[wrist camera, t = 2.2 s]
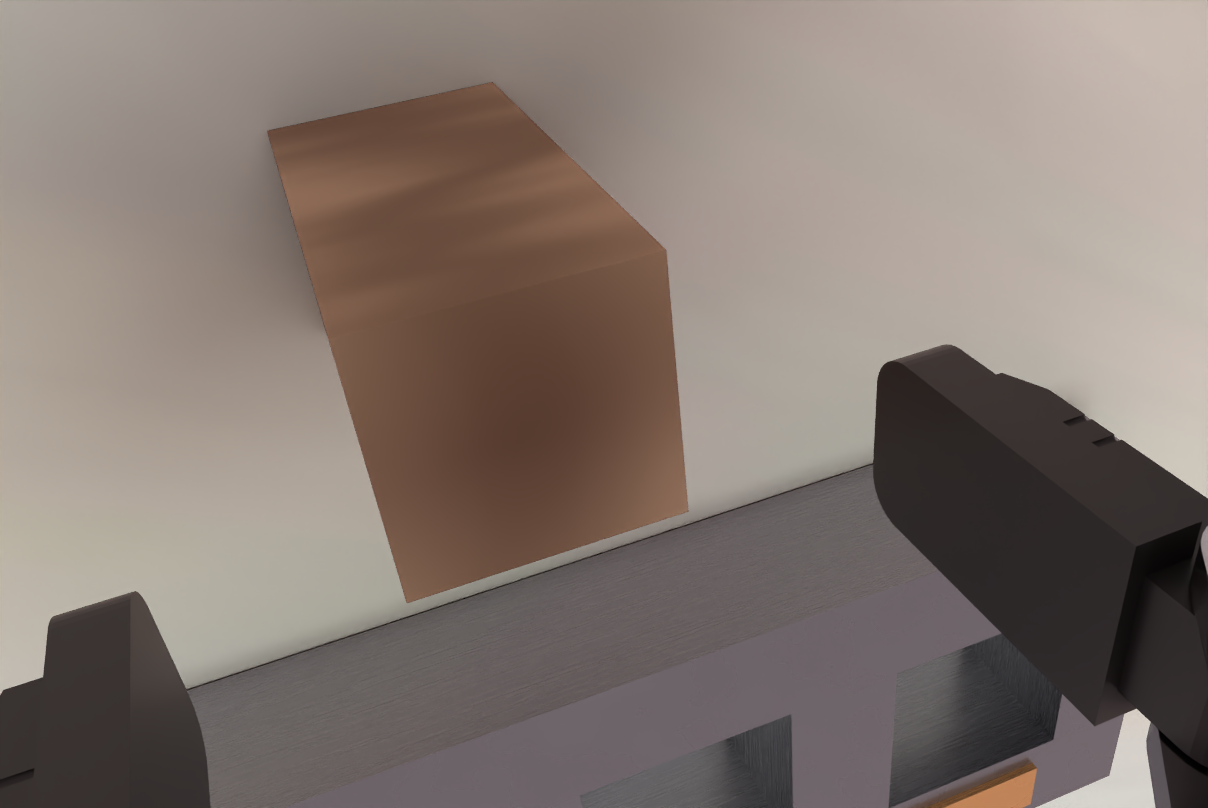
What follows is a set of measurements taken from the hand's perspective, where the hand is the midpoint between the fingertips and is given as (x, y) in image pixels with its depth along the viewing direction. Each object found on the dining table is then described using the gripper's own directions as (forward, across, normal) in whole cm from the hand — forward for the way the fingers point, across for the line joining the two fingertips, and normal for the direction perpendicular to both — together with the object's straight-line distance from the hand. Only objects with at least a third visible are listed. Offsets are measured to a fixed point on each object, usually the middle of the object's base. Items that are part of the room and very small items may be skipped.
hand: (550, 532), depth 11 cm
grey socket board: (+10, -4, +15) cm, 19 cm away
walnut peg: (+10, -1, 0) cm, 10 cm away
